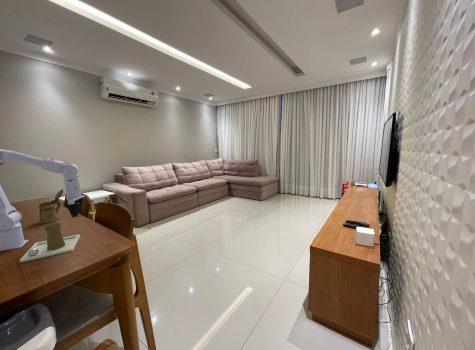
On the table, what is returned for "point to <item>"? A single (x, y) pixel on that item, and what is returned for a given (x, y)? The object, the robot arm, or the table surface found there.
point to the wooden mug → (50, 209)
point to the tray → (43, 251)
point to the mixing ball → (32, 252)
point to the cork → (54, 236)
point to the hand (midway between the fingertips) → (76, 214)
